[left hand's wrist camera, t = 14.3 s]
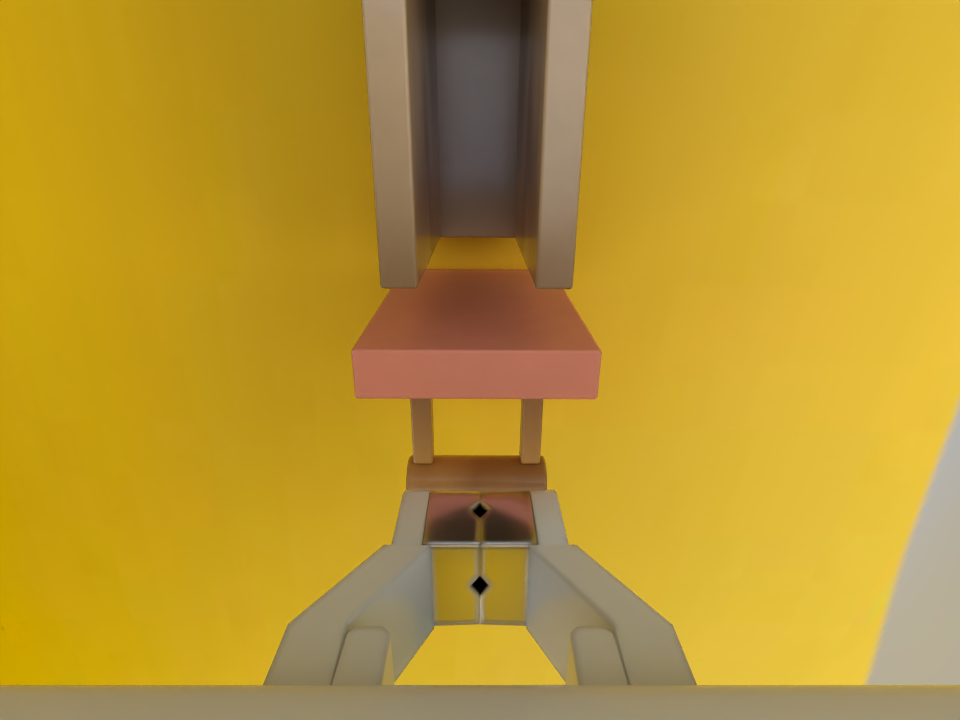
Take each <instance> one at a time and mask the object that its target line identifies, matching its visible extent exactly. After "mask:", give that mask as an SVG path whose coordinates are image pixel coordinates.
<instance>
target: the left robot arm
mask: <svg viewBox="0 0 960 720" xmlns="http://www.w3.org/2000/svg"><path fill="white" fill-rule="evenodd" d="M472 624H487V625H522V626H526V628H527V630H528V631H529V632H530V634H531V635H532V637H533V638H534V639H535V641H536V642H537V644H538V645H539V646H540V648H541V649H542V650H543V652H544V653H545V655H546V656H547V657H548V659H549V660H550V662H551V663H552V664H553V666H554V667H555V668H556V670H557V671H558V673H559V674H560V675H561V677H562V678H563V680H564V681H565V682H566V685H394V683H395V681H396V680H397V678H398V677H399V676H400V674H401V673H402V672H403V670H404V669H405V667H406V666H407V665H408V663H409V662H410V661H411V659H412V658H413V656H414V655H415V654H416V652H417V651H418V650H419V648H420V647H421V645H422V644H423V643H424V641H425V640H426V639H427V637H428V636H429V634H430V633H431V632H432V630H433V629H434V626H438V625H472ZM0 720H960V685H697V684H696V682H695V679H694V677H693V674H692V672H691V669H690V667H689V664H688V662H687V659H686V657H685V655H684V652H683V650H682V647H681V645H680V642H679V640H678V637H677V635H676V632H675V630H674V628H673V625H672V624H671V623H669V622H668V621H667V620H666V619H665V618H663V617H662V616H661V615H660V614H659V613H657V612H656V611H655V610H654V609H653V608H651V607H650V606H649V605H648V604H647V603H645V602H644V601H643V600H642V599H641V598H639V597H638V596H637V595H636V594H635V593H633V592H632V591H631V590H630V589H629V588H627V587H626V586H625V585H624V584H623V583H621V582H620V581H619V580H618V579H617V578H615V577H614V576H613V575H612V574H611V573H609V572H608V571H607V570H606V569H604V568H603V567H602V566H601V565H600V564H598V563H597V562H596V561H595V560H594V559H592V558H591V557H590V556H589V555H588V554H586V553H585V552H584V551H583V550H582V549H580V548H579V547H578V546H577V545H569V544H568V540H567V535H566V531H565V527H564V522H563V518H562V514H561V509H560V505H559V501H558V496H557V492H556V491H555V490H532V491H508V492H480V491H445V490H431V491H429V490H406V491H405V492H404V493H403V496H402V500H401V505H400V509H399V513H398V518H397V522H396V527H395V531H394V535H393V540H392V544H391V545H383V546H382V547H381V548H380V549H378V550H377V551H376V552H375V553H374V554H372V555H371V556H370V557H369V558H367V559H366V560H365V561H364V562H363V563H361V564H360V565H359V566H358V567H357V568H355V569H354V570H353V571H352V572H351V573H349V574H348V575H347V576H346V577H345V578H343V579H342V580H341V581H340V582H338V583H337V584H336V585H335V586H334V587H332V588H331V589H330V590H329V591H328V592H326V593H325V594H324V595H323V596H322V597H320V598H319V599H318V600H317V601H315V602H314V603H313V604H312V605H311V606H309V607H308V608H307V609H306V610H305V611H303V612H302V613H301V614H300V615H299V616H297V617H296V618H295V619H294V620H293V621H291V622H290V623H289V624H288V626H287V628H286V631H285V633H284V635H283V638H282V640H281V643H280V645H279V648H278V650H277V652H276V655H275V657H274V660H273V662H272V664H271V667H270V669H269V672H268V674H267V677H266V679H265V681H264V684H263V685H0Z"/></svg>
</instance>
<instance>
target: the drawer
mask: <svg viewBox="0 0 960 720" xmlns="http://www.w3.org/2000/svg"><path fill="white" fill-rule="evenodd" d="M361 1H362V16H363V31H364V45H365V60H366V75H367V90H368V105H369V120H370V135H371V150H372V165H373V180H374V195H375V210H376V225H377V240H378V255H379V270H380V285H381V287H382V288H391V290H390V291H389V293H388V294H387V296H386V298H385V299H384V301H383V302H382V304H381V305H380V307H379V308H378V310H377V312H376V313H375V315H374V316H373V318H372V319H371V321H370V322H369V324H368V326H367V327H366V329H365V330H364V332H363V333H362V335H361V336H360V338H359V340H358V341H357V343H356V344H355V346H354V347H353V349H352V351H351V354H352V365H353V376H354V386H355V396H356V398H410V400H411V420H412V441H413V455H412V456H410V458H409V461H408V466H407V478H406V490H429V491H431V490H445V491H480V492H508V491H532V490H547V472H546V463H545V459H544V457H543V456H540V450H541V431H542V413H543V399H596V398H597V394H598V384H599V373H600V363H601V350H600V348H599V347H598V345H597V343H596V342H595V340H594V339H593V337H592V335H591V334H590V332H589V330H588V329H587V327H586V325H585V324H584V322H583V320H582V319H581V317H580V316H579V314H578V312H577V311H576V309H575V307H574V306H573V304H572V302H571V301H570V299H569V298H568V296H567V294H566V293H565V291H564V289H571V288H572V286H573V274H574V259H575V245H576V231H577V217H578V202H579V188H580V174H581V159H582V145H583V131H584V117H585V102H586V88H587V74H588V60H589V45H590V31H591V17H592V2H593V0H361ZM440 237H470V238H515V239H516V241H517V243H518V246H519V248H520V251H521V253H522V256H523V258H524V260H525V263H526V265H527V268H528V270H445V269H426V267H427V265H428V263H429V260H430V258H431V256H432V254H433V252H434V249H435V247H436V245H437V243H438V241H439V239H440ZM432 399H521V424H520V452H519V454H520V456H483V455H434V431H433V400H432Z"/></svg>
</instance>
